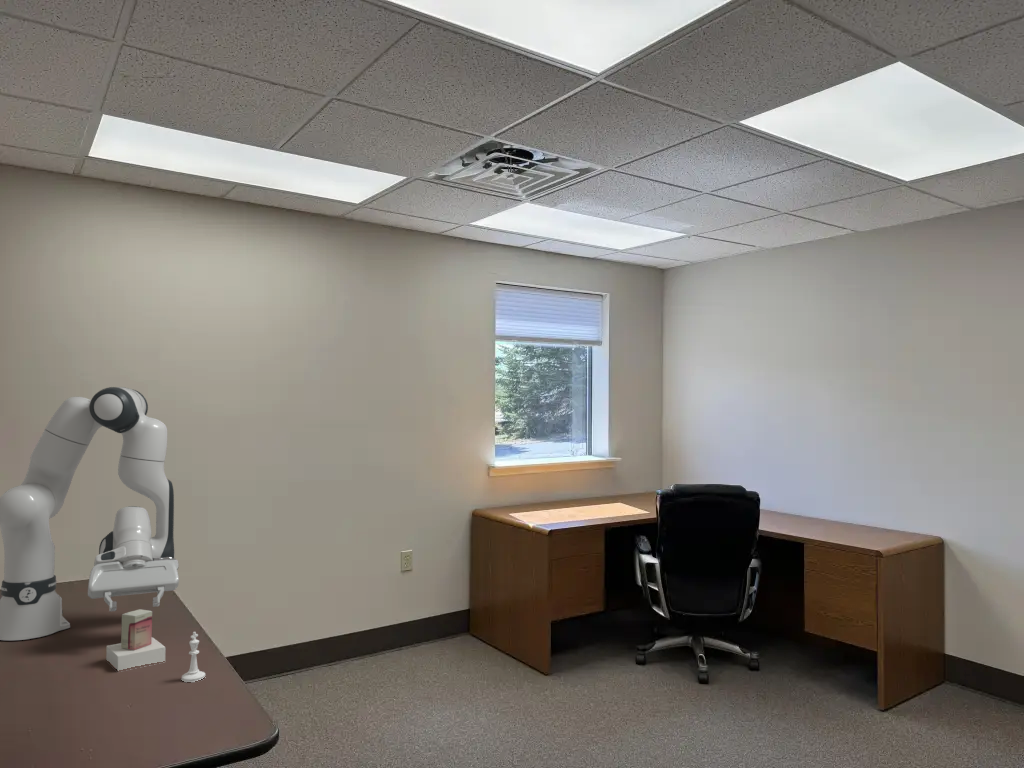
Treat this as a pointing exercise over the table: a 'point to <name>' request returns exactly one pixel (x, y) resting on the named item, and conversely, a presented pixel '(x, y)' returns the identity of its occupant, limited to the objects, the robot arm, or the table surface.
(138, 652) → the off-white block
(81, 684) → the table surface
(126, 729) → the table surface
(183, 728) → the table surface
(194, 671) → the chess piece
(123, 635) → the small box
